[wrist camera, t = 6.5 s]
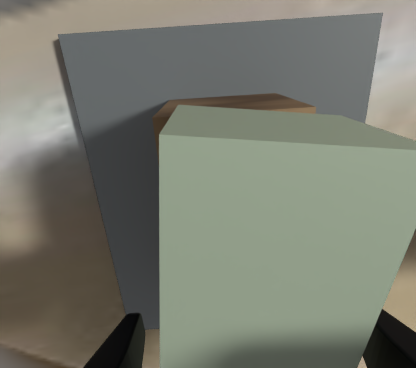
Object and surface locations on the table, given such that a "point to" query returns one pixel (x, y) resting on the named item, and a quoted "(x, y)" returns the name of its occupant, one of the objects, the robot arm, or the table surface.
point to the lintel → (278, 236)
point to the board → (195, 88)
